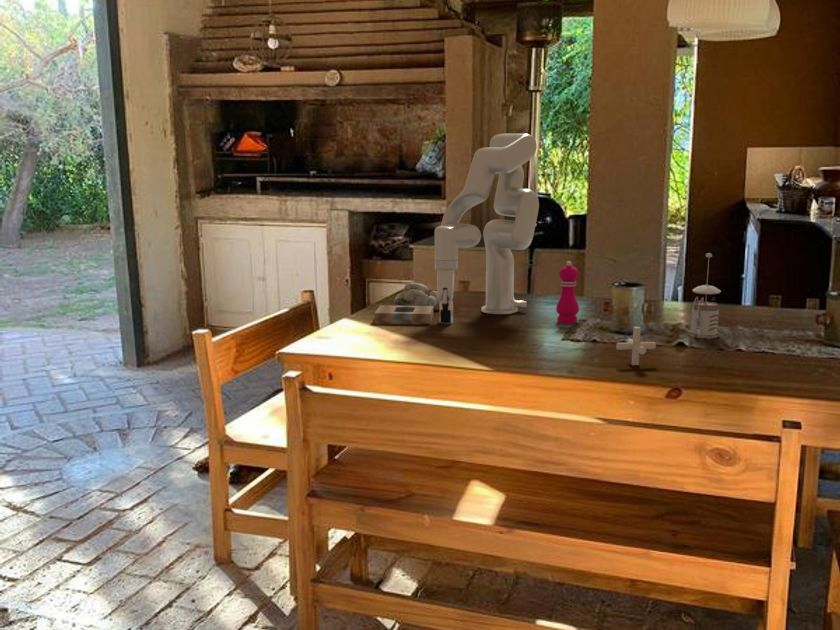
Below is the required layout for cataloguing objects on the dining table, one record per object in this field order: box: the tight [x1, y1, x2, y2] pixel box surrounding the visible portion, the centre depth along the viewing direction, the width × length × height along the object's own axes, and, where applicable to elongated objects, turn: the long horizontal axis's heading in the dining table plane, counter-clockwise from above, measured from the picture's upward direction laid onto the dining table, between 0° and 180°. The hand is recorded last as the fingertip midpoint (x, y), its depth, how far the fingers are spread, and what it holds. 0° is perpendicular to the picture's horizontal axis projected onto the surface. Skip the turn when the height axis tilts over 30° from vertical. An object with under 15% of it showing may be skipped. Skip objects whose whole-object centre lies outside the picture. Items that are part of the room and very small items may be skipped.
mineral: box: [393, 282, 441, 308], centre depth 291 cm, size 12×17×10 cm
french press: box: [689, 252, 722, 335], centre depth 247 cm, size 10×12×25 cm
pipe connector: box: [615, 326, 657, 366], centre depth 217 cm, size 10×10×10 cm
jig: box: [374, 304, 435, 325], centre depth 273 cm, size 18×13×4 cm
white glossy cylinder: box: [438, 300, 454, 325], centre depth 268 cm, size 4×4×7 cm
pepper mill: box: [555, 260, 580, 325], centre depth 267 cm, size 7×7×20 cm
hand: (446, 320), depth 269 cm, fingers closed on white glossy cylinder, 4 cm apart
